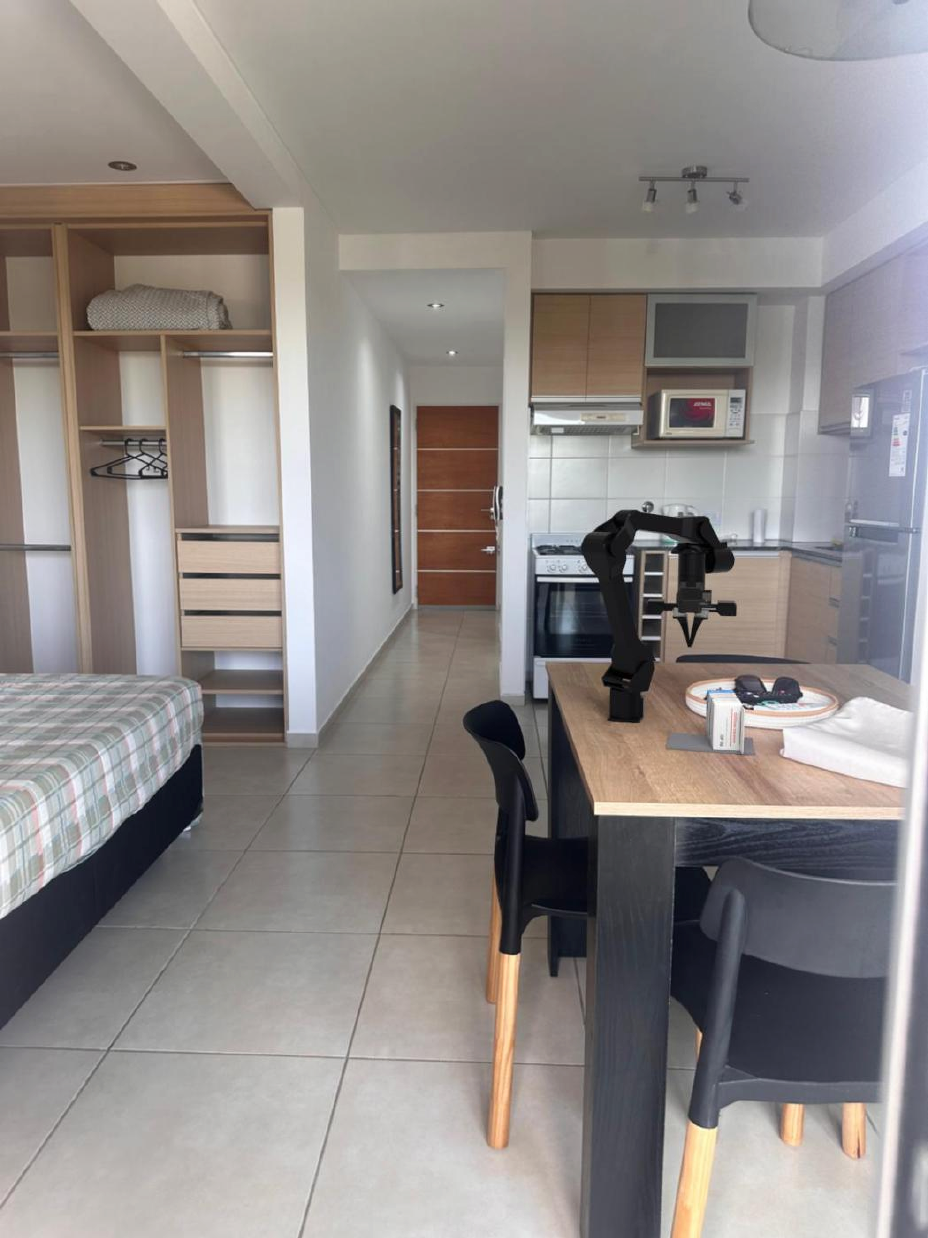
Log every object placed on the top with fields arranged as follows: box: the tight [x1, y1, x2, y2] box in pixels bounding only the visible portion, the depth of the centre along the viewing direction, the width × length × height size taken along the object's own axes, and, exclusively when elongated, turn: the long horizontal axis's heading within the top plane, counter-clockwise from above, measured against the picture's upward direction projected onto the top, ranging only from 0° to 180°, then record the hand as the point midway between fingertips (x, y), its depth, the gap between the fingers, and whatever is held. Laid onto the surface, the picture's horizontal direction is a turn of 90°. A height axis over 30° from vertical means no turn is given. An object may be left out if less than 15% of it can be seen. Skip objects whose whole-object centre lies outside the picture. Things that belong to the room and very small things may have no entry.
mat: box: [666, 731, 756, 756], centre depth 152 cm, size 15×10×1 cm, turn 73°
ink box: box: [705, 689, 746, 755], centre depth 150 cm, size 8×5×15 cm
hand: (689, 647), depth 179 cm, fingers closed
